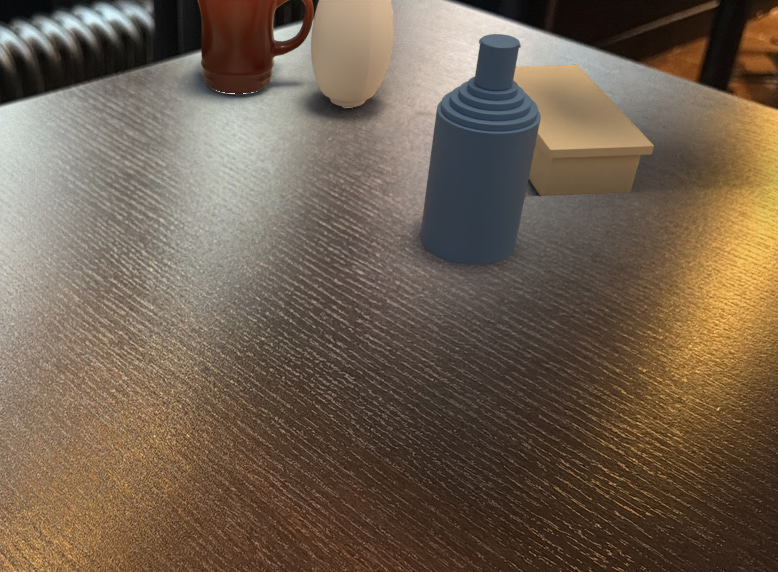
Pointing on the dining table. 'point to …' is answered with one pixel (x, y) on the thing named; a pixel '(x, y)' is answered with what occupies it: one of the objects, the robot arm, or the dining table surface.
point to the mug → (243, 42)
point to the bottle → (480, 161)
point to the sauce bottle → (351, 48)
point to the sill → (579, 134)
